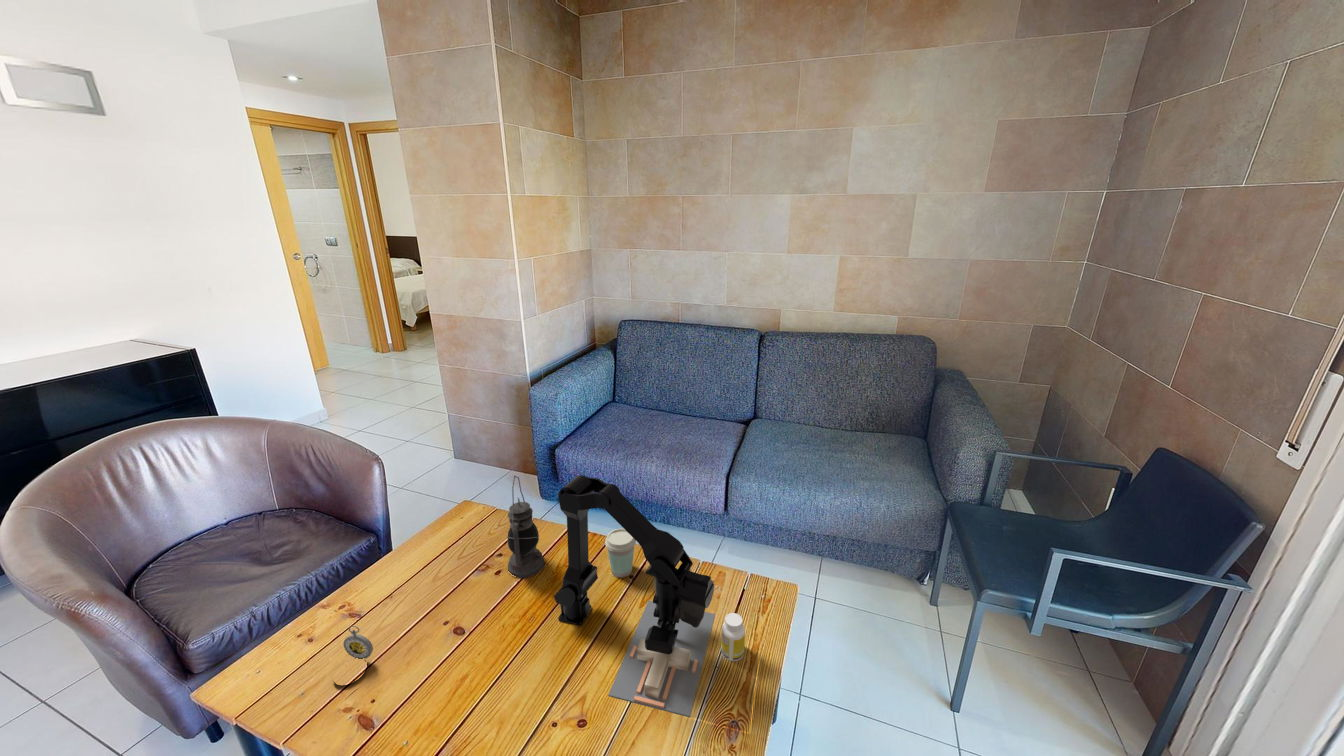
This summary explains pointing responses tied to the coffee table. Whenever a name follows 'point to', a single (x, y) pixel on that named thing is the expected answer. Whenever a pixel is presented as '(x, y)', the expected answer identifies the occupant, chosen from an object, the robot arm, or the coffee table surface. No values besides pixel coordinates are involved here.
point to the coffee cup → (620, 552)
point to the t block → (661, 666)
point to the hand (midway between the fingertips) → (669, 640)
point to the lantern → (523, 540)
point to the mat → (677, 682)
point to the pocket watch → (357, 645)
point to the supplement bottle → (733, 637)
